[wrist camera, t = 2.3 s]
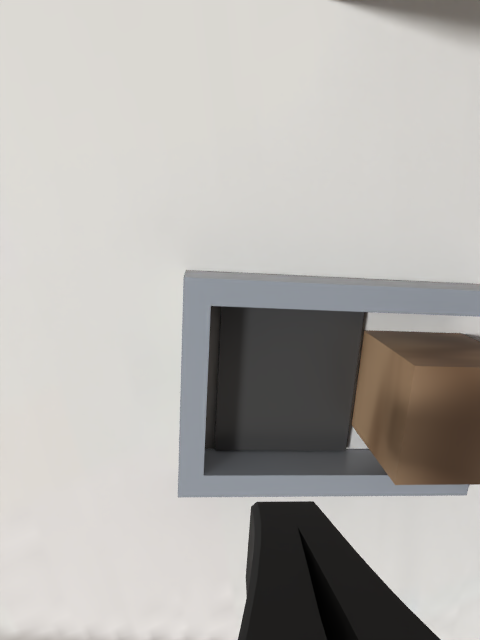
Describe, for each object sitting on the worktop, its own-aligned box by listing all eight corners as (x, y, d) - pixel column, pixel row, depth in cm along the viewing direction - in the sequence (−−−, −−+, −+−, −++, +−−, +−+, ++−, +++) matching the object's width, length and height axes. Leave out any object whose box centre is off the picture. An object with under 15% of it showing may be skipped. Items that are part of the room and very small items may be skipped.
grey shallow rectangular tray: (477, 284, 18) (511, 292, 16) (440, 468, 20) (466, 495, 18) (186, 270, 16) (183, 277, 15) (180, 468, 19) (178, 497, 17)
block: (459, 332, 18) (540, 368, 14) (442, 424, 19) (511, 484, 15) (363, 330, 18) (415, 366, 14) (350, 423, 19) (394, 485, 15)
